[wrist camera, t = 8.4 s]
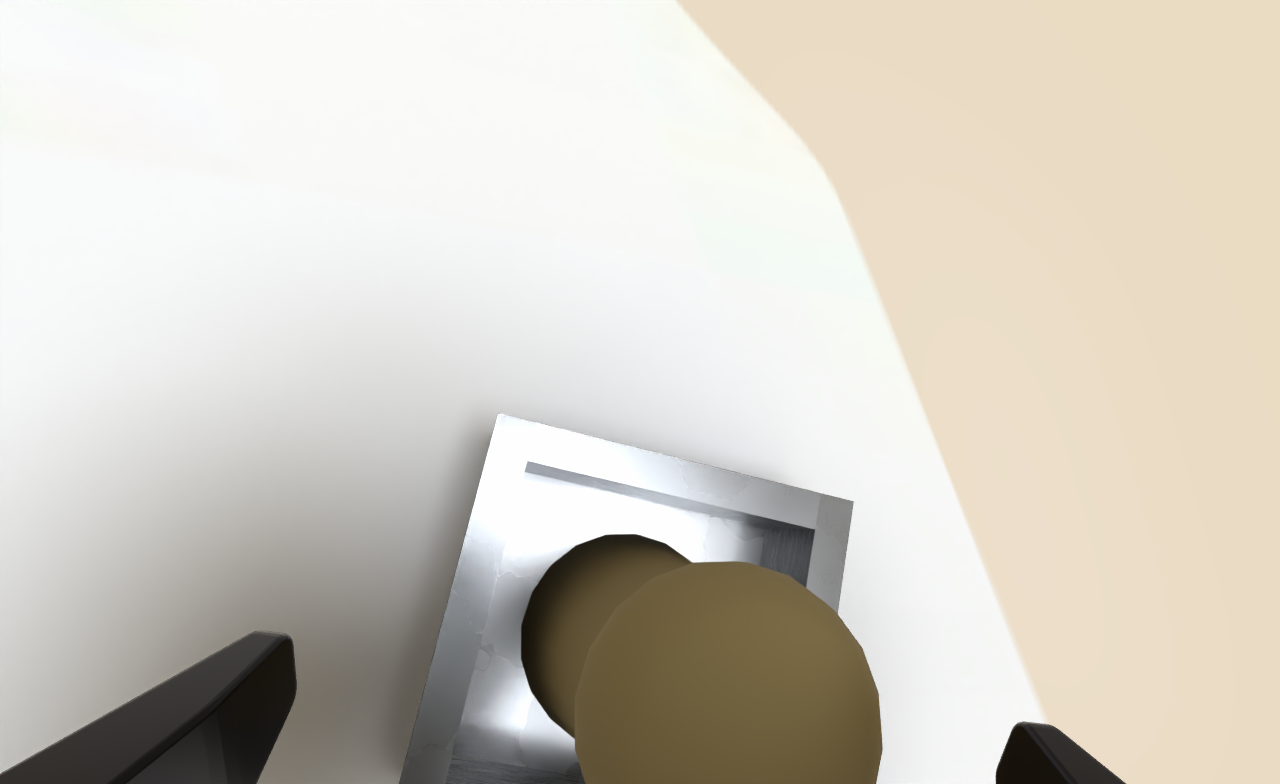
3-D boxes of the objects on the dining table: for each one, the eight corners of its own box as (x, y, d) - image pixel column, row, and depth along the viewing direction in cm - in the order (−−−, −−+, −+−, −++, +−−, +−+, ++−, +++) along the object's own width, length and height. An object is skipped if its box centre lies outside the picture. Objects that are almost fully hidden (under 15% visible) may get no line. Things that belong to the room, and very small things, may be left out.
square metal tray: (738, 833, 21) (795, 903, 17) (403, 779, 20) (382, 844, 16) (791, 505, 23) (853, 501, 20) (495, 433, 22) (498, 412, 18)
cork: (475, 644, 20) (467, 773, 9) (620, 491, 22) (751, 456, 11) (624, 792, 20) (781, 1084, 10) (757, 629, 22) (1015, 724, 11)
